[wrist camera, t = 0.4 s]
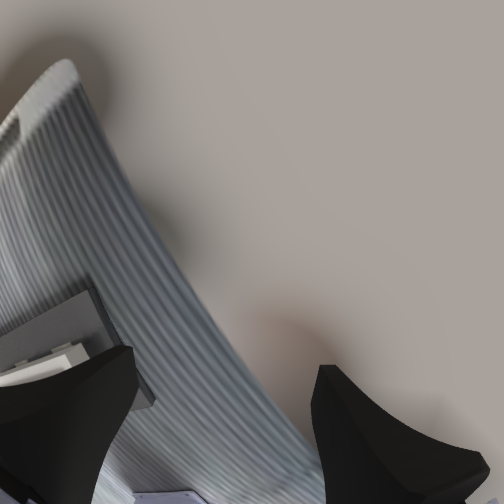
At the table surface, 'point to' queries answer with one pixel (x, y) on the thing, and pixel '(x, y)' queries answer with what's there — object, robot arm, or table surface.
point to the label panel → (67, 337)
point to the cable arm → (44, 366)
